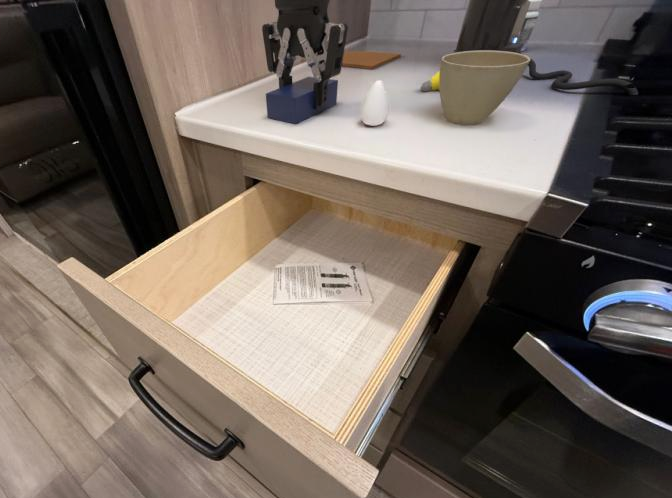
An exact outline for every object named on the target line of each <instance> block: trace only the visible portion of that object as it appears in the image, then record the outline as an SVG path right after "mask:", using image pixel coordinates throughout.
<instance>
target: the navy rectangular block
mask: <svg viewBox="0 0 672 498" xmlns="http://www.w3.org/2000/svg"><path fill="white" fill-rule="evenodd" d="M314 83H315V79H314V76H307V77H304V78H302V79H299V80H297V81H293V82H292V83H291V84H289V85H286V86H284V87H281V88H279V87H278V88H276V89H274V90H271V91H269V92H266V93H265V102H266V115H267V119H271V120H276V121H281V122H285V123H290V124H293V125H297V124H299V123H301V122H303V121H305V120H307V119H310V118H312V117H313V116H315V115H318V114H319V113H322V112H324V111H325V110H328V109H330V108H332V107H333V106H335V105H337V104H338V103H337V102H338V101H337V100H338V86H339V85H338V84H339V80H338V79H332V78H330V79H329V81H328V93H327V94H328V96H327V103H326V104H325V106H324V107H323V108H322V109H320V110H314V108H313V97H314V91H313V90H314Z"/></svg>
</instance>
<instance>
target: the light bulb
mask: <svg viewBox="0 0 672 498" xmlns="http://www.w3.org/2000/svg"><path fill="white" fill-rule="evenodd" d="M439 77H440V69H439V70H438V71H437V72H436V73H435V74H434V75H433V76H431V77H430V79H429V80H427V81H424V82H422V84H421V85H420V91H422V92H424V93H425V92H428V91H430V90H432V91H435V90H438V91H440V89H439Z"/></svg>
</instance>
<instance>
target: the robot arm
mask: <svg viewBox="0 0 672 498" xmlns="http://www.w3.org/2000/svg"><path fill="white" fill-rule="evenodd" d="M330 1H331V0H274V7H275V9H276V10H278V17H277V21H273V22H267V23H264V24H262V26H261V27H262V28H261V31H262V38H263V39H262V40H263V45H264V52H265V59H266V66H267V70H268V72H269V73H274V74H275V75H276V78H278V88H281V87H284V86H286V85H289V84H291V83H293V75H291V73H292V70H293V68H294V65H295V62H296V60H297V59H298V57H301V58H305V60H306V64H307V66H308V67H309V68H310V70H311V73H312V77H314V79H315V83H314V90H313V91H314V97H313V108H314V110H320V109H322V108H323V107H324V106H325V104H326V103H327V96H328V94H327V93H328V81H329V79H332V78H334V77H337V76H339V75H340V74H341V72H342V67H343V66H342V61H343V54H344V53H345V48H346V42H347V36H348V30H349V26H348V24H347V23H346V22H342V23H334V22H330V17H329V14H328V7H329V4H330ZM529 6H530V1H528V0H468V3H467V6H466V9H465V14H464V17H463V21H462V25H461V28H460V32H459V36H458V39H457V43H456V47H455V49H454V50H453V53H457V52H465V51H480V50H491V51H506V52H514V53H519V54H522V55H524V53H521V52H522V51H521V49H522V46H523V43H516V41H517V38H518V35H519V33H520V30H521V27H522V25H523V22H524V19H525V17H526V14H527V11H528V9H529ZM325 38H326V40H325ZM324 40H325V41H326V43H327V49H326V45H325V41H324ZM520 51H521V52H520ZM316 54H317V55H316ZM528 57H529V58H530V62H529V63H528V65H527V67H528V69H529V70H528V75H529V77H530V78H532V79H533V80H536V81H542V80H543V81H544V80H548V79H549V80H550V79H553V78H556V79H554V80H553V81H552V83H551V86H552V88H554V89H557V90H562V91H573V90H574V91H575V90H582V89H589V88H598V87H615V88H619V89H621V90H623V91H624V92H625V93H626V94H627V95H628V96H629V95H630V96H629V97H632V96H631V95H638V94H639V91H638V89H637V88H636V87H635V88H627V87H623V86H626V85H629V84H632V82H630V81H628V80H625V79H620V78H600V79H592V80H586V81H579V82H567V81H569V80H570V79H572V77H573V73H572V71H569V70H561V69H560V70H554V71H550V72H546V73H540V72H538V71H537V64H536V62H535V61H534V59H532V57H530V56H528Z"/></svg>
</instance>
